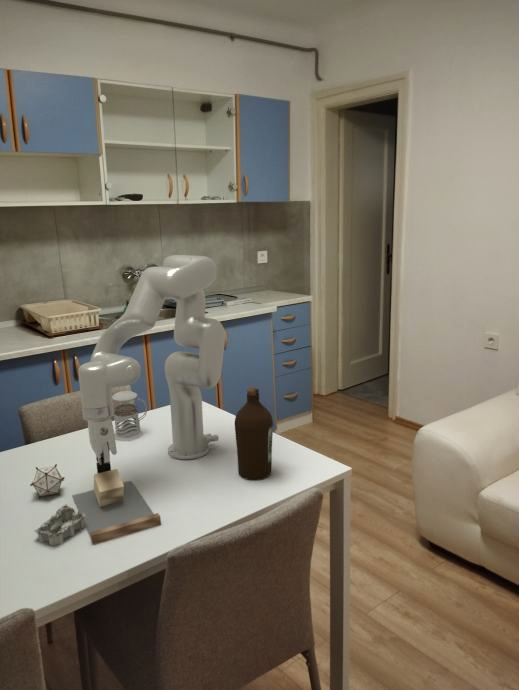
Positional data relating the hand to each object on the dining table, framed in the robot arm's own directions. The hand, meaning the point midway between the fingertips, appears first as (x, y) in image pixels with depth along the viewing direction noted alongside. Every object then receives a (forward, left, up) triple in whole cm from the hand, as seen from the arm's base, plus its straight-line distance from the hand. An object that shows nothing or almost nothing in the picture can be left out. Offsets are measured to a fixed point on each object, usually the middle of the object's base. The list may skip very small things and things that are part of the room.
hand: (104, 476), depth 146 cm
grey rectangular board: (0, +7, -6) cm, 9 cm away
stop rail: (0, +20, -6) cm, 20 cm away
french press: (-17, -37, -6) cm, 41 cm away
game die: (+13, -9, -6) cm, 17 cm away
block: (0, +3, -4) cm, 5 cm away
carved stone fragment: (+13, +12, -6) cm, 18 cm away
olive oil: (-40, +8, -6) cm, 41 cm away
